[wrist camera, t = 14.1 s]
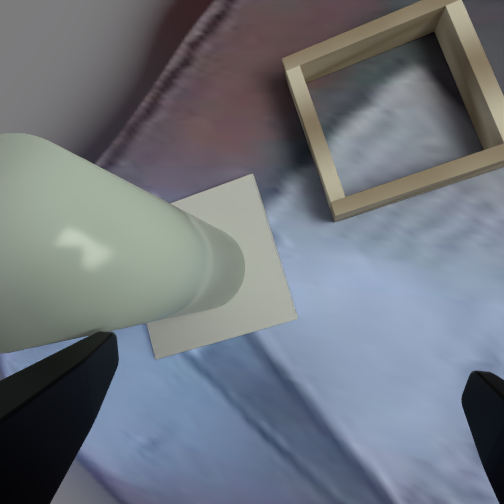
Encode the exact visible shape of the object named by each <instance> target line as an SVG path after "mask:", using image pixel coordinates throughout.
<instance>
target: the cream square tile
mask: <svg viewBox="0 0 504 504" xmlns="http://www.w3.org/2000/svg"><path fill="white" fill-rule="evenodd" d="M170 204H172V205H174V206H176V207H177V208H179V209H181V210H183V211H185V212H187V213H189V214H191V215H193V216H195V217H197V218H199V219H201V220H203V221H204V222H206V223H208V224H210V225H212V226H214V227H216V228H218V229H220V230H222V231H224V232H225V233H227V234H229V235H230V236H231V237H232V238H233V239H234V240H235V241H236V242H237V244H238V245H239V247H240V249H241V250H242V253H243V256H244V260H245V275H244V279H243V283H242V285H241V287H240V289H239V291H238V292H237V294H236V295H235V296H234V297H233V298H232V299H231V300H230V301H229V302H228V303H226V304H224V305H223V306H221V307H218V308H215V309H211V310H206V311H202V312H197V313H192V314H187V315H183V316H178V317H173V318H169V319H164V320H159V321H155V322H150V323H147V327H148V331H149V335H150V339H151V343H152V347H153V351H154V355H155V359H156V360H157V359H160V358H164V357H167V356H171V355H174V354H178V353H181V352H185V351H188V350H192V349H195V348H198V347H202V346H205V345H209V344H212V343H216V342H219V341H223V340H226V339H230V338H233V337H237V336H240V335H244V334H247V333H251V332H254V331H258V330H261V329H265V328H268V327H272V326H275V325H279V324H282V323H285V322H289V321H292V320H296V319H298V316H297V312H296V309H295V306H294V303H293V300H292V296H291V293H290V290H289V287H288V283H287V280H286V277H285V274H284V271H283V267H282V264H281V261H280V258H279V255H278V251H277V248H276V245H275V242H274V238H273V235H272V232H271V229H270V226H269V222H268V219H267V216H266V213H265V209H264V206H263V203H262V200H261V197H260V193H259V190H258V187H257V184H256V180H255V177H254V175H253V174H250V175H247V176H244V177H242V178H239V179H236V180H233V181H231V182H228V183H225V184H222V185H220V186H217V187H214V188H212V189H209V190H206V191H203V192H201V193H198V194H195V195H192V196H190V197H187V198H184V199H181V200H179V201H176V202H173V203H170Z"/></svg>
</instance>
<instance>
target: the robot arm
mask: <svg viewBox="0 0 504 504" xmlns="http://www.w3.org/2000/svg"><path fill="white" fill-rule="evenodd" d="M118 361H119V357H118V346H117V337H116V334H115V333H113V332H104V331H99V332H96V333H94V334H92V335H90V336H88V337H86V338H84V339H82V340H80V341H78V342H77V343H75V344H73V345H71V346H69V347H67V348H65V349H63V350H61V351H59V352H57V353H55V354H53V355H51V356H49V357H47V358H45V359H43V360H41V361H39V362H37V363H35V364H33V365H31V366H29V367H27V368H25V369H23V370H21V371H19V372H17V373H15V374H13V375H11V376H9V377H7V378H5V379H3V380H1V381H0V504H50V503H51V501H52V499H53V497H54V495H55V493H56V492H57V490H58V488H59V486H60V484H61V482H62V481H63V479H64V477H65V475H66V473H67V471H68V470H69V468H70V466H71V464H72V462H73V460H74V459H75V457H76V455H77V453H78V451H79V450H80V448H81V446H82V444H83V442H84V440H85V439H86V437H87V435H88V433H89V431H90V429H91V427H92V425H93V423H94V421H95V419H96V417H97V415H98V412H99V410H100V408H101V405H102V403H103V400H104V398H105V396H106V393H107V391H108V388H109V386H110V384H111V381H112V379H113V376H114V374H115V372H116V369H117V366H118ZM462 407H463V410H464V413H465V416H466V418H467V421H468V424H469V427H470V430H471V433H472V436H473V439H474V442H475V445H476V448H477V451H478V454H479V457H480V459H481V462H482V465H483V467H484V470H485V472H486V475H487V477H488V479H489V481H490V484H491V486H492V488H493V490H494V492H495V495H496V497H497V499H498V501H499V504H504V380H503V379H501V378H500V377H498V376H497V375H495V374H493V373H491V372H485V371H473V372H471V373H470V375H469V378H468V381H467V383H466V386H465V389H464V391H463V394H462Z"/></svg>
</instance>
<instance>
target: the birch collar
mask: <svg viewBox="0 0 504 504" xmlns="http://www.w3.org/2000/svg"><path fill="white" fill-rule="evenodd" d="M433 32H435V34H436V37H437V39H438V42H439V44H440V46H441V49H442V51H443V54H444V56H445V58H446V61H447V63H448V66H449V68H450V70H451V73H452V75H453V78H454V80H455V82H456V85H457V87H458V90H459V92H460V94H461V97H462V99H463V102H464V104H465V106H466V109H467V111H468V114H469V116H470V118H471V121H472V123H473V126H474V128H475V130H476V133H477V135H478V138H479V140H480V142H481V145H482V147H483V151H480V152H477V153H474V154H471V155H468V156H465V157H462V158H459V159H456V160H453V161H450V162H447V163H444V164H441V165H439V166H436V167H433V168H430V169H427V170H424V171H421V172H418V173H415V174H412V175H409V176H406V177H403V178H400V179H397V180H394V181H391V182H388V183H385V184H382V185H379V186H376V187H373V188H371V189H368V190H365V191H362V192H359V193H356V194H353V195H350V196H347V197H345V195H344V192H343V189H342V186H341V183H340V180H339V177H338V174H337V172H336V169H335V166H334V163H333V160H332V157H331V154H330V151H329V149H328V146H327V143H326V140H325V137H324V134H323V131H322V128H321V126H320V123H319V120H318V117H317V114H316V111H315V108H314V105H313V103H312V100H311V97H310V94H309V91H308V88H307V85H306V83H307V82H310V81H312V80H315V79H317V78H320V77H322V76H325V75H327V74H330V73H333V72H335V71H338V70H340V69H343V68H345V67H348V66H350V65H353V64H355V63H358V62H360V61H363V60H365V59H368V58H370V57H373V56H375V55H378V54H380V53H383V52H385V51H388V50H390V49H393V48H395V47H398V46H400V45H403V44H405V43H408V42H410V41H413V40H415V39H418V38H420V37H423V36H425V35H428V34H430V33H433ZM282 62H283V67H284V72H285V77H286V81H287V84H288V87H289V89H290V92H291V95H292V98H293V101H294V104H295V107H296V110H297V113H298V116H299V119H300V122H301V125H302V128H303V131H304V134H305V137H306V140H307V143H308V145H309V148H310V151H311V154H312V157H313V160H314V163H315V166H316V169H317V172H318V175H319V178H320V181H321V184H322V187H323V190H324V193H325V196H326V199H327V202H328V204H329V207H330V210H331V213H332V216H333V219H334V222H337V221H340V220H343V219H346V218H349V217H352V216H355V215H359V214H362V213H365V212H368V211H371V210H374V209H377V208H380V207H383V206H386V205H389V204H392V203H395V202H398V201H401V200H404V199H407V198H410V197H413V196H416V195H420V194H423V193H426V192H429V191H432V190H435V189H438V188H441V187H444V186H447V185H450V184H453V183H456V182H459V181H462V180H465V179H468V178H471V177H474V176H477V175H480V174H484V173H487V172H490V171H493V170H496V169H499V168H502V167H504V96H503V94H502V91H501V89H500V87H499V85H498V82H497V80H496V78H495V75H494V73H493V71H492V69H491V66H490V64H489V62H488V59H487V57H486V55H485V52H484V50H483V48H482V46H481V43H480V41H479V39H478V36H477V34H476V32H475V30H474V27H473V25H472V23H471V20H470V18H469V16H468V13H467V11H466V9H465V7H464V4H463V2H462V0H422V1H419V2H417V3H415V4H412V5H410V6H407V7H405V8H402V9H400V10H398V11H395V12H393V13H390V14H388V15H386V16H383V17H381V18H378V19H376V20H374V21H371V22H369V23H366V24H364V25H362V26H359V27H357V28H354V29H352V30H350V31H347V32H345V33H342V34H340V35H338V36H335V37H333V38H330V39H328V40H326V41H323V42H321V43H318V44H316V45H314V46H311V47H309V48H306V49H304V50H301V51H299V52H297V53H294V54H292V55H289V56H287V57H285V58H282Z"/></svg>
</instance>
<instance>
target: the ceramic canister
mask: <svg viewBox="0 0 504 504" xmlns="http://www.w3.org/2000/svg"><path fill="white" fill-rule="evenodd" d="M244 275H245V260H244V256H243V253H242V250H241V249H240V247H239V245H238V244H237V242H236V241H235V240H234V239H233V238H232V237H231V236H230V235H229V234H227V233H225V232H224V231H222V230H220V229H218V228H216V227H214V226H212V225H210V224H208V223H206V222H204V221H203V220H201V219H199V218H197V217H195V216H193V215H191V214H189V213H187V212H185V211H183V210H181V209H179V208H177V207H176V206H174V205H172V204H170V203H168V202H166V201H164V200H162V199H160V198H158V197H156V196H154V195H152V194H150V193H148V192H147V191H145V190H143V189H141V188H139V187H137V186H135V185H133V184H131V183H129V182H127V181H125V180H123V179H121V178H120V177H118V176H116V175H114V174H112V173H110V172H108V171H106V170H104V169H102V168H100V167H98V166H96V165H94V164H92V163H90V162H89V161H87V160H85V159H83V158H80V157H79V156H77V155H75V154H73V153H71V152H69V151H67V150H65V149H63V148H62V147H60V146H57V145H56V144H54V143H52V142H50V141H47V140H45V139H43V138H40V137H37V136H33V135H29V134H21V133H9V134H1V135H0V353H10V352H14V351H19V350H24V349H28V348H33V347H38V346H42V345H47V344H52V343H56V342H61V341H66V340H70V339H75V338H80V337H85V336H89V335H92V334H94V333H96V332H99V331H104V332H108V331H113V330H117V329H122V328H127V327H131V326H136V325H141V324H145V323H150V322H155V321H159V320H164V319H169V318H173V317H178V316H183V315H187V314H192V313H197V312H202V311H206V310H211V309H215V308H218V307H221V306H223V305H224V304H226V303H228V302H229V301H230V300H231V299H232V298H233V297H234V296H235V295H236V294H237V292H238V291H239V289H240V287H241V285H242V283H243V279H244Z"/></svg>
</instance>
